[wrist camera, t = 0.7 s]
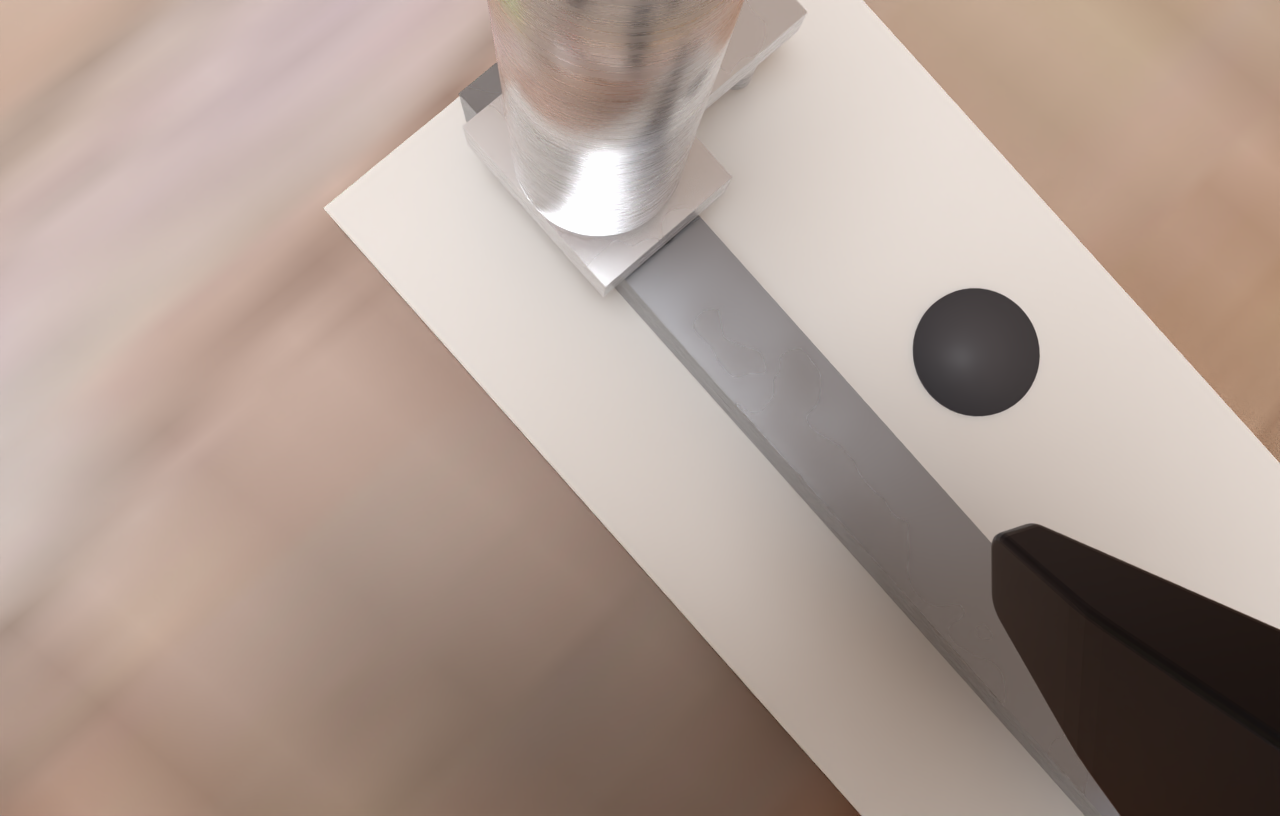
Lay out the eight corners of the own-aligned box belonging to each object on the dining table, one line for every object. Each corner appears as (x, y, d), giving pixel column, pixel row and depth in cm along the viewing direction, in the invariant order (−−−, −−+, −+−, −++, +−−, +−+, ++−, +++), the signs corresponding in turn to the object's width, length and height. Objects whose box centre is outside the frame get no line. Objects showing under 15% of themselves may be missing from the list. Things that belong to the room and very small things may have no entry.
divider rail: (1439, 804, 22) (1765, 920, 16) (1246, 1010, 21) (1511, 1213, 15) (673, -50, 22) (713, -248, 16) (458, 127, 22) (417, -13, 16)
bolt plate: (1488, 730, 23) (1534, 742, 22) (1127, 1116, 22) (1157, 1148, 21) (734, -109, 24) (742, -138, 22) (334, 220, 22) (322, 206, 21)
